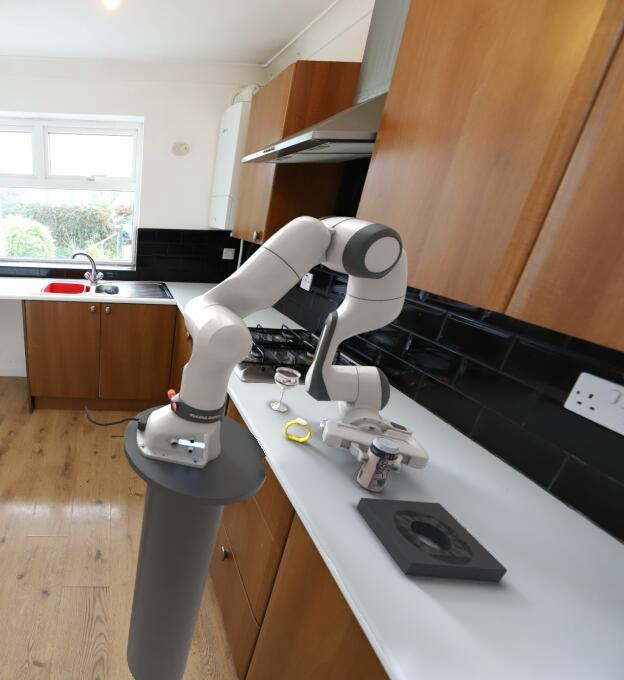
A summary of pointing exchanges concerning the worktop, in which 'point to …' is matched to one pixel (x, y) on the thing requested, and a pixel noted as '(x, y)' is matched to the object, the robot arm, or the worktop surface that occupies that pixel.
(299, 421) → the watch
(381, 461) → the beer can
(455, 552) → the base
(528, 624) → the worktop surface
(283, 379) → the wineglass
